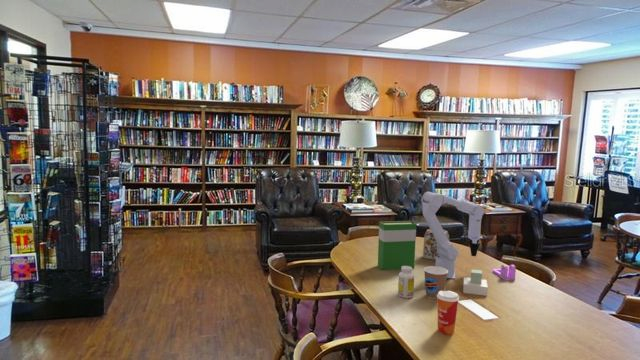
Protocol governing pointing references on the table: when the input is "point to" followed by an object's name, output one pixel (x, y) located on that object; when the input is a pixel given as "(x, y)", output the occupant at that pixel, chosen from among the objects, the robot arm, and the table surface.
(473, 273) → the green cube
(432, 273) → the coffee cup
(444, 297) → the paper cup
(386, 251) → the green cereal box
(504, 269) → the bracket
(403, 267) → the supplement bottle
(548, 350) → the table surface
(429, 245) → the decorative jar
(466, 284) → the painted block
